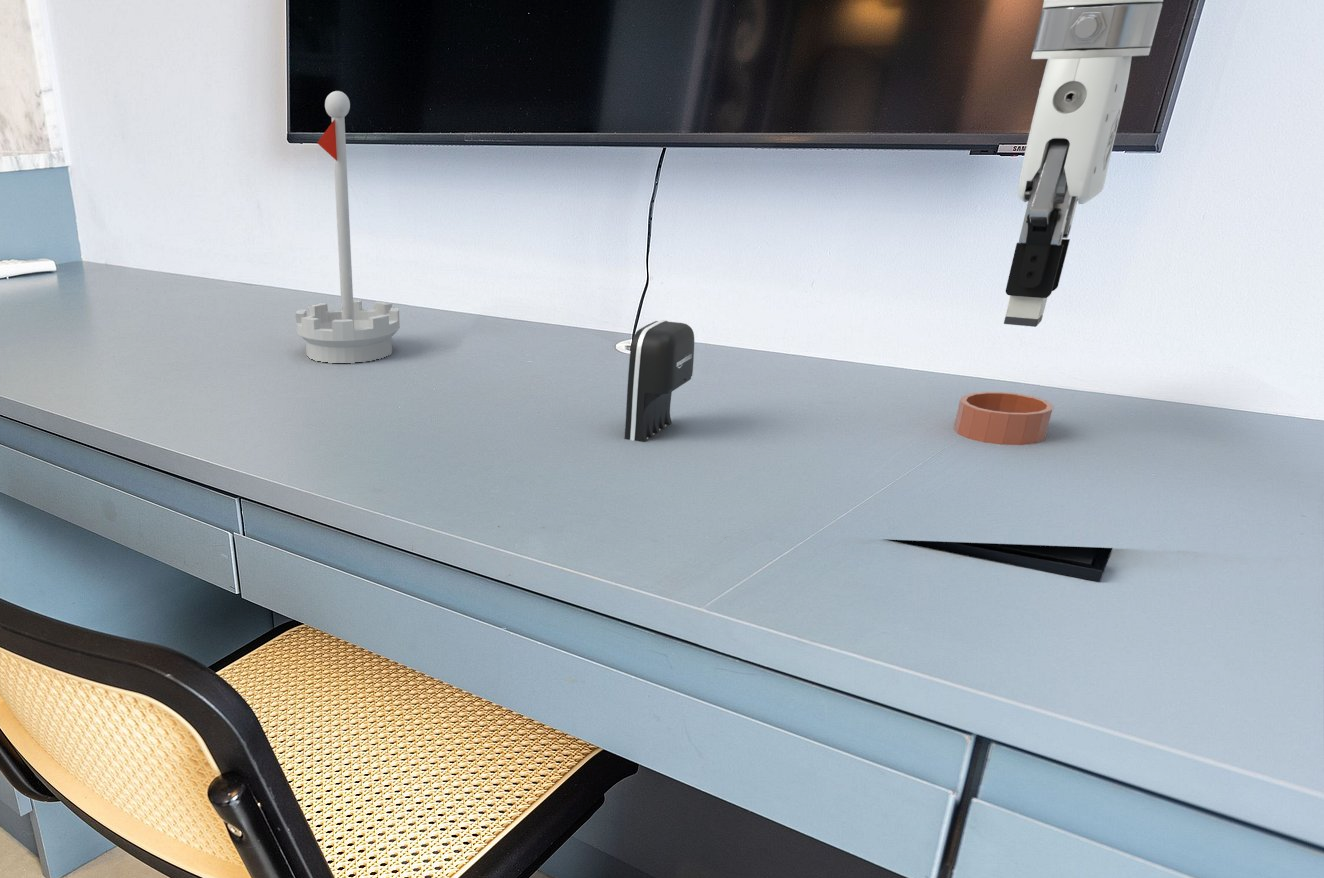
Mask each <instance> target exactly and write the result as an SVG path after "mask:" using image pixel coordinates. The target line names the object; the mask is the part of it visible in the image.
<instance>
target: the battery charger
mask: <svg viewBox="0 0 1324 878" xmlns="http://www.w3.org/2000/svg"><path fill="white" fill-rule="evenodd" d="M694 358H695V333H694V330H693V328H692V327H691V326H690V325H689V324H687V323H685V322H677V321H669V320H667V319H666V320H665V319H660V320H655V321H653V322H651V323H648V324H646V325H645V326H642V327H640V328H639V329H638V330H637V331H636V332H635V334H634V335H633V337H632V340H631V346H630V350H629V361H628V362H629V363H628V374H627V389H626V405H625V406H626V408H625V425H624V426H625V427H624V440H627V441H632V442H641V443H646V442H648V439H649V438H653V437H654V436H655V434H660V432H661V430H665V429H667V427H666V426H670V425H671V424H672V418H671V404H672V403H671V401H672V393H673V392H674V391H676V390H677V389H679V388H680V387H681V386H683V385H684V384H686V383H687V382H689V381H690V380H691V379H692V377H693V374H694V372H693V371H694Z"/></svg>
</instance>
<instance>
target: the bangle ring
mask: <svg viewBox="0 0 1324 878" xmlns="http://www.w3.org/2000/svg"><path fill="white" fill-rule="evenodd" d="M1053 411H1054V405H1053V404H1052V403H1051V402H1050V401H1048V400H1046V399H1043V398H1040V397H1037V396H1034V395H1028V394H1023V393H1017V392H1016V393H1015V392H1006V391H979V392H971V393H967V394H965V395H962V396H961V398H960V399H959V403H958V407H957V411H956V417H955V420H954V425H953V431H955V432H956V434H957V435H959V436H962V437H964V438H966V439H969V440H973V441H977V442H981V443H986V444H994V445H1005V446H1025V445H1035V444H1038V443H1041V442H1043V441H1045V439H1046V437H1047V434H1048V431H1049V425H1050V422H1051V418H1052V414H1053Z"/></svg>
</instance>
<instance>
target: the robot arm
mask: <svg viewBox="0 0 1324 878" xmlns="http://www.w3.org/2000/svg"><path fill="white" fill-rule="evenodd" d="M1163 3H1164V0H1043V3H1042V10H1041V12H1040V17H1039V22H1038V27H1037V30H1036V35H1035V39H1034V44H1033V49H1032V50H1033V51H1032V53H1031V56H1030V57H1031V58H1030V60H1046V64H1045V68H1044V72H1043V75H1042V78H1041V79H1042V80H1041V83H1040V87H1039V90H1038V95H1037V100H1036V103H1035V108H1034V112H1033V115H1032V120H1031V123H1030V124H1031V125H1030V128H1029V133H1028V138H1027V142H1026V147H1025V151H1024V154H1023V155H1024V156H1023V161H1022V166H1021V170H1020V175H1019V181H1018V186H1017V197H1018V198H1019V199H1020V200H1021V201H1022V202H1023V203H1027V204H1026V209H1025V214H1024V218H1023V222H1022V226H1021V230H1020V234H1019V239H1018V242H1016V244H1015V247H1014V248H1015V249H1014V253H1013V257H1012V262H1011V266H1010V269H1009V275H1008V278H1007V283H1006V287H1005V294H1006V296H1009V297H1010V296H1023V297H1036V298H1047V299H1048V298H1049V297H1050V296H1051V295H1052V292H1054V291H1056V290H1057V289H1058V288H1059V284H1060V280H1061V276H1062V272H1063V269H1064V264H1065V260H1066V256H1067V254H1068V253H1067V252H1068V248H1069V245H1070V241H1071V239H1069V237H1070V236H1069V235H1070V232H1071V229H1072V224H1073V221H1074V216H1075V213H1076V209H1077V205H1084V204H1086V203H1088V202H1089V201H1091V200H1092V199H1094V198H1095V197H1096V196H1098V195H1099V194H1100V193H1101V192H1102V191H1103V189H1104V186H1105V182H1106V179H1107V173H1108V169H1109V165H1110V160H1111V156H1112V151H1113V147H1114V144H1115V139H1116V135H1117V131H1118V127H1119V123H1120V119H1121V114H1122V110H1123V107H1124V101H1125V98H1126V94H1127V88H1128V84H1129V83H1128V82H1129V79H1130V78H1129V77H1130V71H1131V64H1132V59H1133V58H1132V57H1143V56H1145V57H1147V56H1150V52H1151V50H1152V46H1153V42H1154V39H1155V35H1156V30H1157V28H1158V27H1157V26H1158V23H1159V20H1160V15H1161V12H1162V8H1163ZM1066 219H1067V222H1066ZM1065 222H1066V226H1065V230H1064V234H1063V238H1062V241H1061V237H1062V233H1063V229H1064V225H1065ZM1060 241H1061V245H1059V244H1060Z"/></svg>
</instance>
